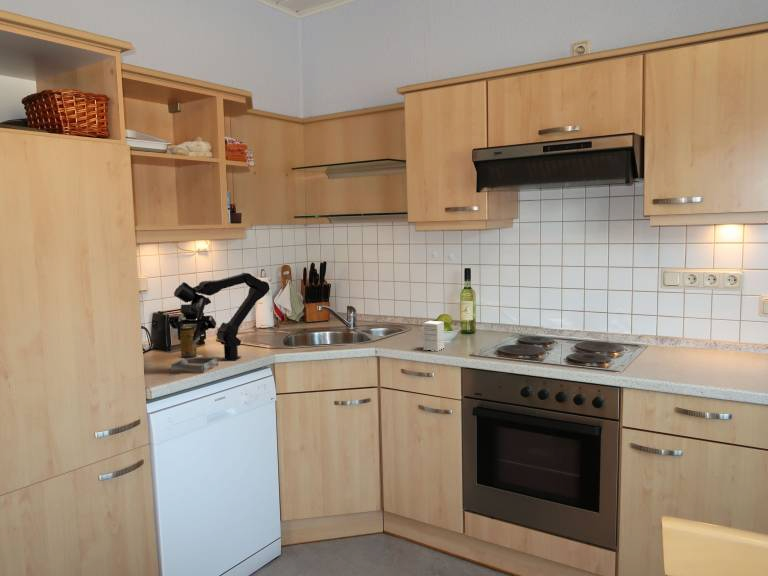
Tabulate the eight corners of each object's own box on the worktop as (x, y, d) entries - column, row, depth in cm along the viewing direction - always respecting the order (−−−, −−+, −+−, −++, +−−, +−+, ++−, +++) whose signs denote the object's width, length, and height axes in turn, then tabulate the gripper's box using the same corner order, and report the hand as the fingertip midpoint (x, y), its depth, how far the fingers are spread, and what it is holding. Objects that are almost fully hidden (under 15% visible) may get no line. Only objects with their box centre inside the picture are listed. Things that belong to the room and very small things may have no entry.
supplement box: (430, 347, 287) (429, 320, 285) (444, 348, 283) (444, 321, 281) (422, 350, 280) (422, 322, 279) (437, 352, 276) (437, 323, 275)
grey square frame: (187, 364, 264) (186, 357, 263) (218, 364, 261) (217, 357, 261) (170, 372, 250) (170, 365, 250) (203, 373, 247) (202, 365, 247)
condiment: (192, 353, 256) (189, 325, 255) (204, 356, 251) (202, 327, 249) (176, 357, 251) (173, 328, 249) (188, 360, 245) (185, 330, 244)
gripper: (167, 296, 254) (156, 328, 244) (211, 295, 251) (201, 328, 241) (178, 312, 262) (167, 343, 253) (220, 311, 259) (211, 343, 250)
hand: (186, 339), depth 249 cm, fingers closed on condiment, 6 cm apart
